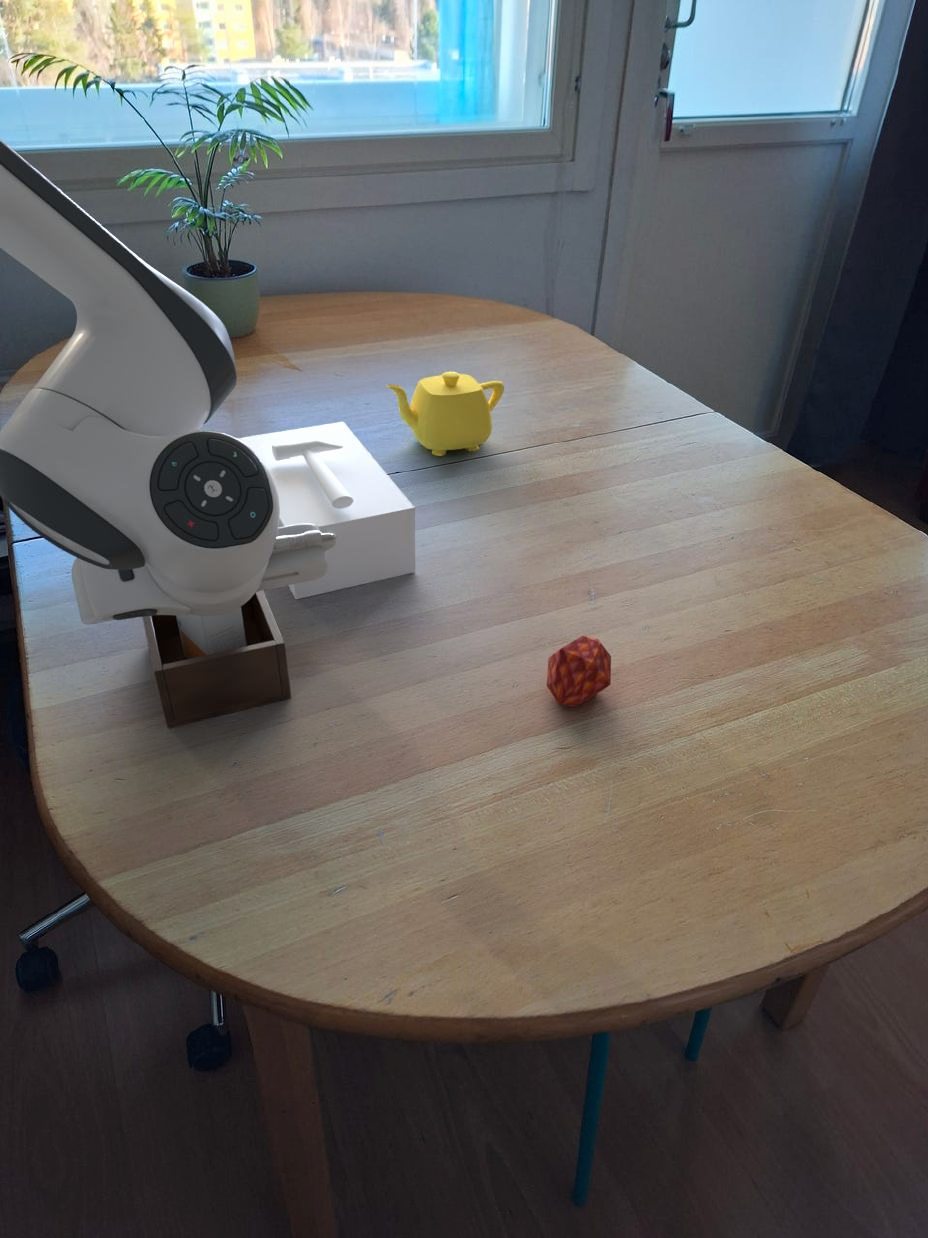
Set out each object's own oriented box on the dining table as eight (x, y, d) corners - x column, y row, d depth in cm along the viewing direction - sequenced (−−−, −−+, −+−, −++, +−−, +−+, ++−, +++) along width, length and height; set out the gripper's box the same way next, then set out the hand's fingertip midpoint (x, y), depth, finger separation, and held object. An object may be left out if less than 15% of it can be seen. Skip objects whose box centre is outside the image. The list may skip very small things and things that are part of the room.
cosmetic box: (183, 657, 87) (161, 556, 80) (220, 640, 90) (203, 540, 83) (213, 687, 84) (194, 584, 77) (252, 669, 86) (236, 567, 79)
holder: (167, 728, 80) (153, 672, 76) (149, 643, 90) (136, 589, 86) (291, 698, 84) (284, 642, 80) (260, 620, 94) (253, 567, 90)
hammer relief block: (346, 480, 121) (342, 404, 114) (415, 572, 103) (414, 489, 96) (242, 499, 116) (231, 421, 109) (295, 599, 97) (286, 513, 91)
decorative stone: (538, 709, 87) (578, 648, 90) (595, 733, 83) (635, 668, 86) (520, 674, 83) (562, 611, 86) (579, 697, 79) (622, 630, 82)
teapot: (398, 467, 124) (397, 395, 118) (377, 436, 132) (374, 367, 126) (515, 451, 129) (519, 381, 123) (487, 421, 138) (490, 354, 131)
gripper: (331, 493, 69) (308, 539, 82) (54, 539, 63) (77, 581, 76) (350, 569, 69) (324, 603, 82) (73, 623, 62) (92, 651, 75)
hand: (203, 593), depth 79 cm, fingers open, 8 cm apart
